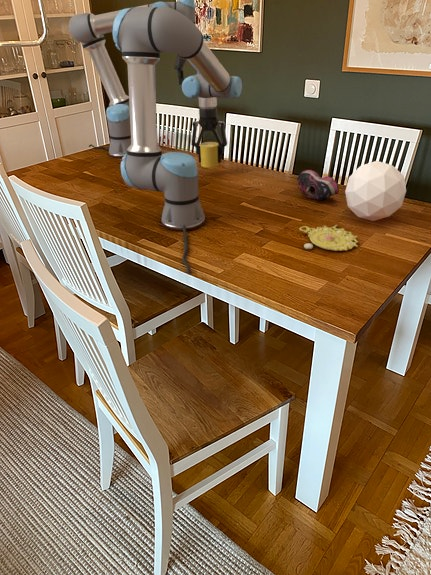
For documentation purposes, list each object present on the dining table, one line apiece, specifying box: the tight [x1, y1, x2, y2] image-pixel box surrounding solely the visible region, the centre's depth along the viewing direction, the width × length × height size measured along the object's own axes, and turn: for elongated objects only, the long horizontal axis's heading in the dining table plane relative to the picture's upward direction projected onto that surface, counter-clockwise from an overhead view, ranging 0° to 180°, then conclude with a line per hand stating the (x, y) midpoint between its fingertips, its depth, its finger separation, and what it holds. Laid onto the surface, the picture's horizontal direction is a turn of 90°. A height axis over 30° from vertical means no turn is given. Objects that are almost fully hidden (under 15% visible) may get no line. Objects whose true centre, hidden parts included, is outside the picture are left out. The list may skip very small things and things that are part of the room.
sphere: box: [344, 160, 407, 222], centre depth 150 cm, size 19×20×20 cm
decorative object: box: [299, 224, 359, 252], centre depth 141 cm, size 21×2×20 cm
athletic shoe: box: [294, 169, 340, 201], centre depth 171 cm, size 11×22×12 cm
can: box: [199, 141, 220, 169], centre depth 194 cm, size 8×8×9 cm
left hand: (190, 83), depth 223 cm, fingers open, 13 cm apart
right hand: (210, 161), depth 195 cm, fingers closed on can, 8 cm apart
